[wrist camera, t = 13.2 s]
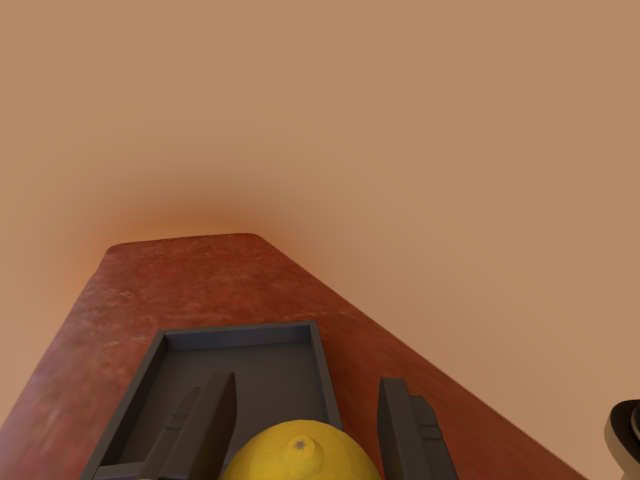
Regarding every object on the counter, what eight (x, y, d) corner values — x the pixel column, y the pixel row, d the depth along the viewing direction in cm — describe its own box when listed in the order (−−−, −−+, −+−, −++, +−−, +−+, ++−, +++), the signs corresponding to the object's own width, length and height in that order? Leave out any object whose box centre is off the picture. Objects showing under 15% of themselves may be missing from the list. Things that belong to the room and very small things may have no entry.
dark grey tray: (316, 338, 35) (316, 319, 34) (346, 474, 21) (348, 448, 21) (161, 349, 33) (158, 330, 32) (85, 509, 19) (76, 481, 18)
